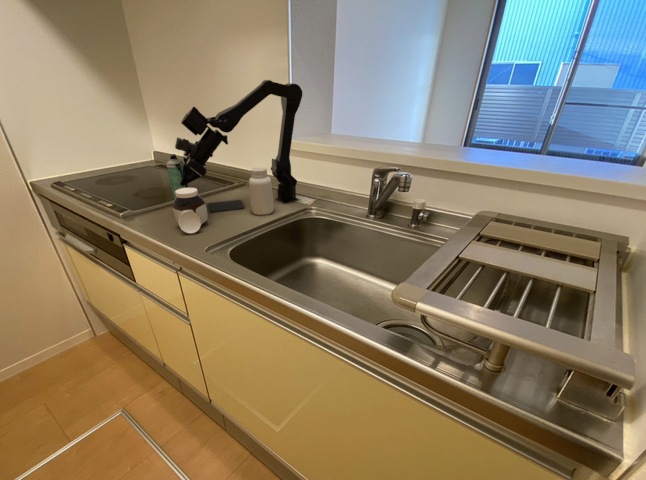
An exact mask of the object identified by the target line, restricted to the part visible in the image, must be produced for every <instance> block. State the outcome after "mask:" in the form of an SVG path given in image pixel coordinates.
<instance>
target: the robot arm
mask: <svg viewBox="0 0 646 480" xmlns="http://www.w3.org/2000/svg"><path fill="white" fill-rule="evenodd" d="M270 95H272V96H277V97H280V104H281V105H280V106H281V110H282V116H281V123H280V131H279V133H280V134H279V141H278V149H277V155H276V157H275V158H271V166H270V171H271V174H272V176H273V177H274V178H275V179H276V181H277V182H278V184H277V190H276V191H277V197H276V200H278V201H280V202H282V203H284V204H287V203H291V202H295V201H299V198H298V197H297V187H296V186H297V184H298V180H297V179H296V178H295V177H294V176H293V175H292V165H291V158H290V156H291V149H292V141H293V133H294V127H295V120H296V114H297V112H298V110H299V108H300V106H301V102H302V98H303V89H302V88H301V86H300V85H299V84H297V83H290V82H288V83H285V84H284V83H279V82H276V81H273V80H272V79H271V80H270V79H264V80H262V82H261V83H260V84H259V85H257V86H256V87H255V88H254V89H252V90H251V91H250V92H249V93H247V94H246V95H245V96H244V97H243V98H242V99H241V100H239V101H237V102H236V103H235V104H234V105H232V106H230V107H227V108H225V109H223V110H221V111H219V112H218V113H217V114H215V116H211V117H210V116H208V117H206V116H205V115H204V114H202V113H201V112H200V111H199V109H198V108H197V107H196V106H192V108H191V109H190V110H189V111H188V112H187V113H186V114H185V115H184V117H183V118H182V119H181V122H180V124H182V126H184V127H185V128H186V129H187V130H188V131H190V132H191V133H192V134H193V135H194V136H197V135H198V136H201V137H200V139H199V140H196V141H195V142H194V143H193V142H191V141H190V140H189V139H187V138H186V139H185V138H181V137H178V136H177V137H176V141H175V143H174V149H176V150H177V151H183V156H182V159H183V160H182V161H183V164H184V169H185V174H184V176H183V178H182V180H181V183H180V185H181V186H184V185H186V184H187V185H189V184H190V183H192V182H194V181H196V180H198V179H200V178H201V179H202V178H203V177H205V176H206V174H207V168H206V166H207V164H206V163H207V162H208V161H209V159H210V158H213V157H214V152H216V150H217V149H218V147H219V146H220V145H221V143H222V142H223V143H224V144H225V146H228V145H229V142H228V135H227V134H226V133H228V134H229V133H231V132H232V131H233V130H234V129H235V127H237V125H238V124H239V122H240V121H241V120H242V118H243V117H244V116H245V115H246V114H247V113H249V112H250V111H252V110H253V109H254V108H255V107H256V106H258V104H260V103H261V102H263V101H264V100H265V99H266V98H267V97H268V96H270ZM208 124H209V125H208ZM210 126H211V127H212V128H215V130H213V129H212V128H211V127H210ZM218 129H219V130H218ZM220 131H221V132H222V133H221V132H220ZM223 133H225V134H223Z"/></svg>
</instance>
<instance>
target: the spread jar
mask: <svg viewBox="0 0 646 480" xmlns="http://www.w3.org/2000/svg"><path fill="white" fill-rule="evenodd" d="M175 194H176V198H175V200H173V202H172V212H173V215H174V220H175V222H176V223H177V224H178V226H179V228H180V229H181V231H183V232H184V233H186V234H195V233H197V232H198V231H199V230H200V228H202V227H203V226H205V224H206V223H207V222H208V209H207V204H206V201H205V200H204V198H202V196H200V195H199V192H198V188H196V187H188V188H181V189H178V190H176V191H175Z"/></svg>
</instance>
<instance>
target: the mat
mask: <svg viewBox="0 0 646 480" xmlns="http://www.w3.org/2000/svg"><path fill="white" fill-rule="evenodd" d="M208 204H209V209H210V213H219V212H228V211H235V210H244V209H245V208H244V205H243V204H242V201H241V200H240V199H236V200H234V199H233V200H226V201H225V200H224V201H216V202H209V203H208Z"/></svg>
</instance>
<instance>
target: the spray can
mask: <svg viewBox="0 0 646 480" xmlns="http://www.w3.org/2000/svg"><path fill="white" fill-rule="evenodd" d="M166 169H167V173H168V177H169V178H168V179H169V182H170V186H171V191H172V195H173V199H174V200H175V198H176V194H175V191H176V190H178V189H181V188H189V184H186V185H184V186H181V185H180V183H181V180H182V178H183V176H184V174H185V169H184V161H183V160H181V159H179V158H178V157H177V155H176V154H175V153H173V154H170V157H169V160H168V161H166ZM174 200H173V201H174Z"/></svg>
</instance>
